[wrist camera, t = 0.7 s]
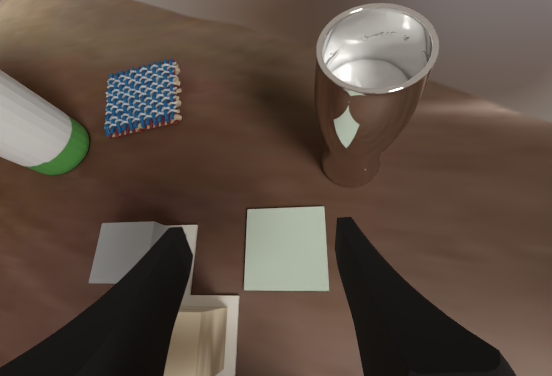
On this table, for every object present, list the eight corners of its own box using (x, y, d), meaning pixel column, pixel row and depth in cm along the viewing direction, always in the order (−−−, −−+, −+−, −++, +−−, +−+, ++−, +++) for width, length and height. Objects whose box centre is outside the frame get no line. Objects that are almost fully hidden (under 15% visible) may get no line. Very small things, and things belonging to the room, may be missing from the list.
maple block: (223, 368, 24) (193, 393, 18) (171, 366, 25) (126, 388, 19) (227, 307, 26) (201, 312, 20) (178, 306, 26) (139, 311, 21)
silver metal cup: (307, 177, 29) (292, 77, 15) (331, 125, 31) (338, -9, 17) (371, 201, 27) (422, 111, 13) (393, 144, 29) (459, 10, 15)
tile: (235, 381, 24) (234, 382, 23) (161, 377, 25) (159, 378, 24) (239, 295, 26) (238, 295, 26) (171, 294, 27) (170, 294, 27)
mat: (328, 290, 25) (329, 290, 25) (244, 290, 26) (243, 290, 26) (324, 207, 28) (324, 206, 27) (248, 210, 29) (247, 209, 29)
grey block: (180, 284, 27) (144, 283, 21) (135, 283, 28) (88, 283, 22) (186, 234, 29) (154, 221, 23) (143, 235, 30) (102, 223, 24)
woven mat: (182, 64, 39) (175, 52, 37) (185, 126, 35) (177, 116, 33) (115, 81, 40) (104, 71, 38) (110, 143, 36) (98, 135, 34)
